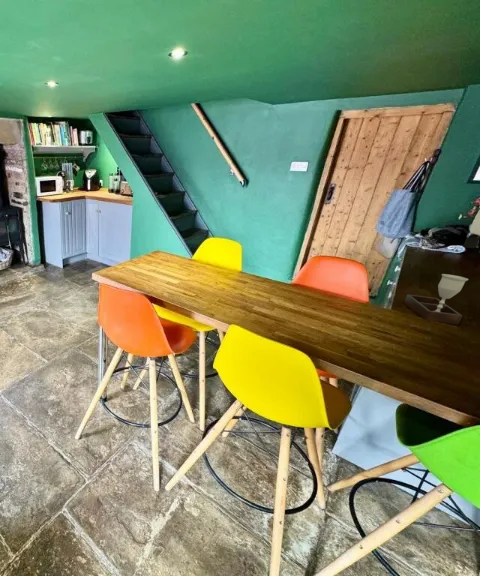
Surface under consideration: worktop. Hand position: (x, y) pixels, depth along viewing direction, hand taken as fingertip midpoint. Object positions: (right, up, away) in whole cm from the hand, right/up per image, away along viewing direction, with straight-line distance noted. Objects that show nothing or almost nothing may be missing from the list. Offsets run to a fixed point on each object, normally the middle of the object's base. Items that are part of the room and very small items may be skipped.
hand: (476, 250), depth 114 cm
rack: (0, -26, +17) cm, 31 cm away
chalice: (-2, -27, +13) cm, 30 cm away
